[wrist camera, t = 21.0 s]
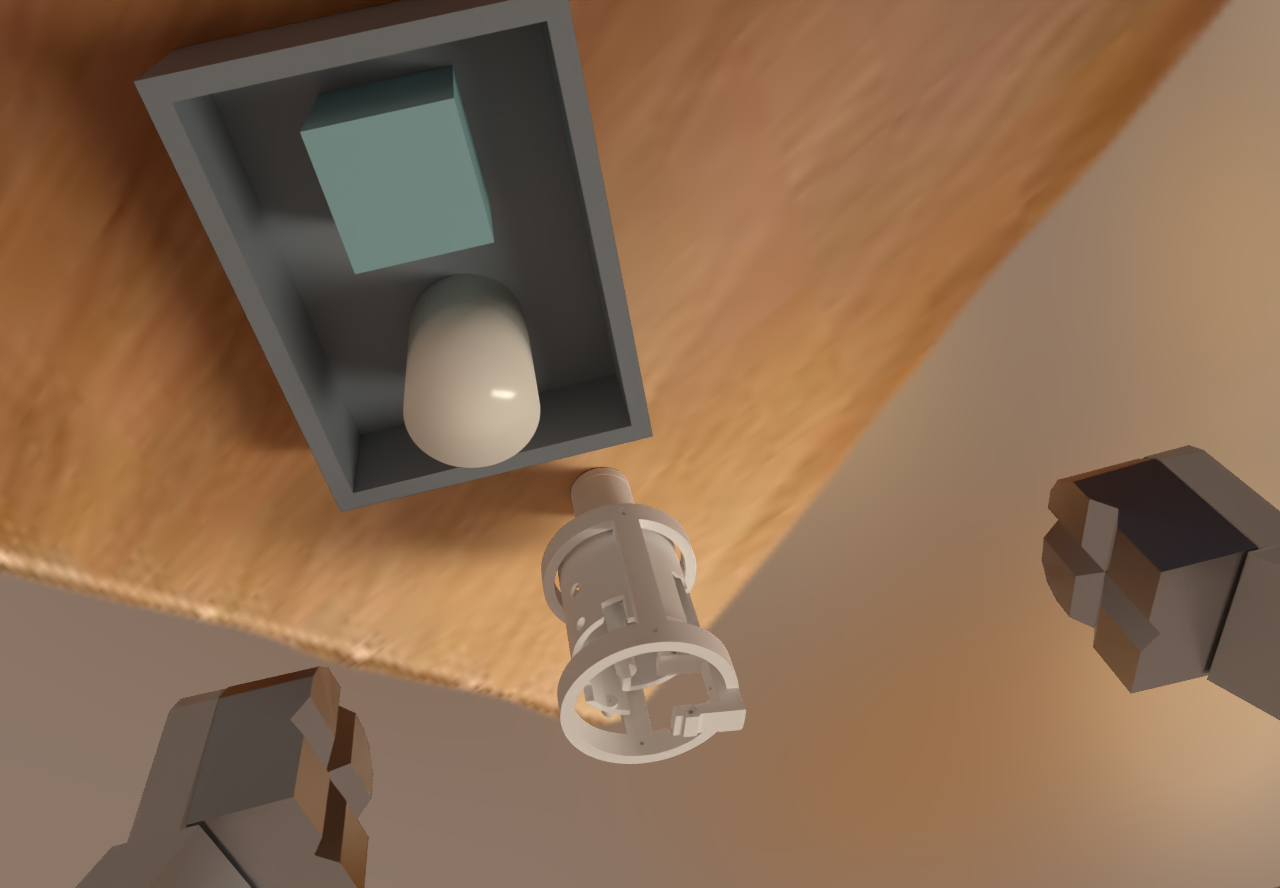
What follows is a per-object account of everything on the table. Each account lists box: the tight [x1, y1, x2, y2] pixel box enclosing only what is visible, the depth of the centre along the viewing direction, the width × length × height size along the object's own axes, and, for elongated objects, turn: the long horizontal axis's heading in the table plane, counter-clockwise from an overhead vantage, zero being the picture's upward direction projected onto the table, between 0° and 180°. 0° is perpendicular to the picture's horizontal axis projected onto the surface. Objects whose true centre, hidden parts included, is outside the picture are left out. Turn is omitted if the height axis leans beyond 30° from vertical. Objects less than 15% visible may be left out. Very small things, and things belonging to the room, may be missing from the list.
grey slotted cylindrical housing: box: [541, 468, 746, 764], centre depth 40 cm, size 7×7×15 cm
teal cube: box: [300, 65, 494, 274], centre depth 32 cm, size 5×5×5 cm
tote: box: [134, 0, 653, 512], centre depth 35 cm, size 18×14×5 cm
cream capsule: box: [403, 274, 540, 468], centre depth 36 cm, size 5×5×7 cm
